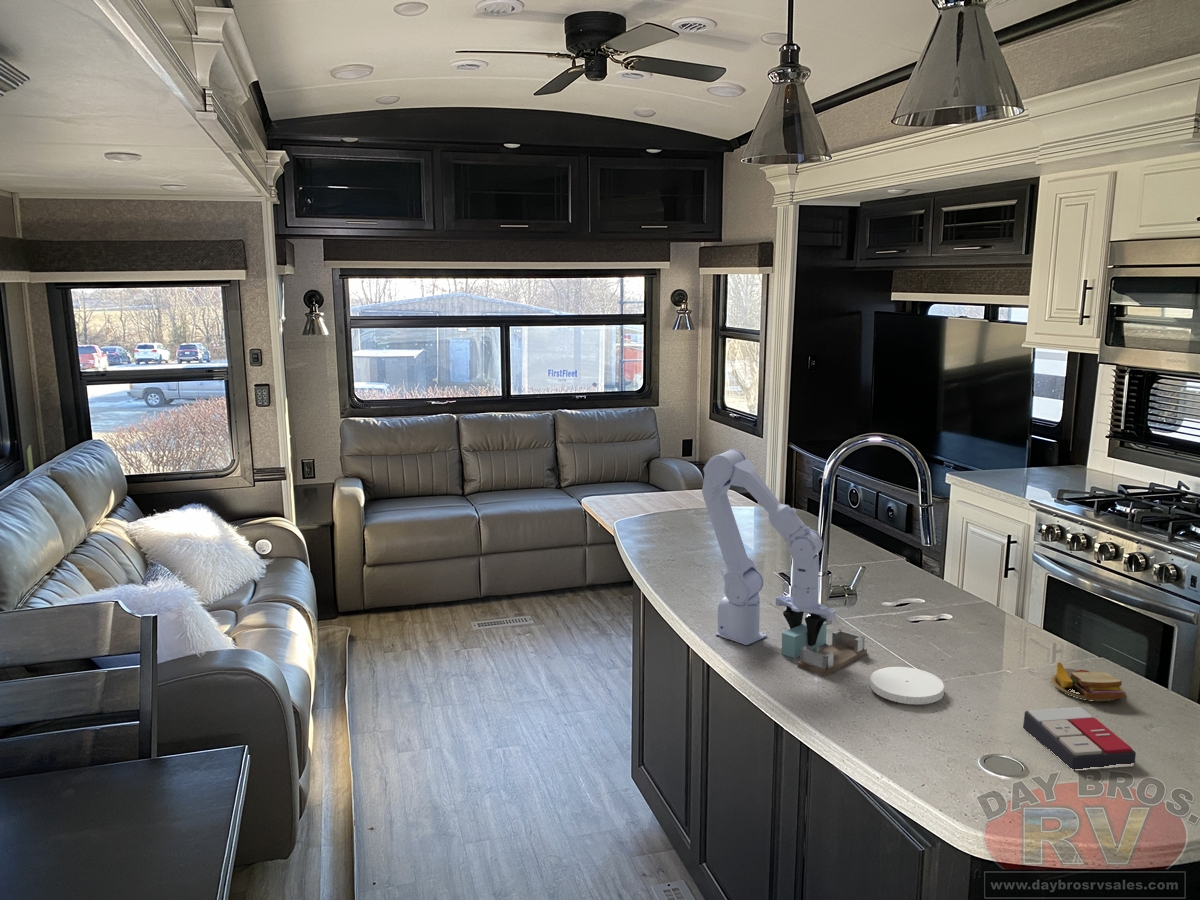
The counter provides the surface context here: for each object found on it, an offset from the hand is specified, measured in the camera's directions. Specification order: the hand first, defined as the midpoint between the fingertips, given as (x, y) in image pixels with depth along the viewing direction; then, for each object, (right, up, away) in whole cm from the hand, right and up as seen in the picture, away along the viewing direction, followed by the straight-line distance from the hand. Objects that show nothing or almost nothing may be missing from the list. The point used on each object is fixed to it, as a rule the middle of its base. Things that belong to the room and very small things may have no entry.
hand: (804, 642), depth 199 cm
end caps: (+5, -2, -6) cm, 8 cm away
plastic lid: (+15, -6, -22) cm, 27 cm away
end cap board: (+5, -2, -6) cm, 8 cm away
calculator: (+38, -9, -44) cm, 59 cm away
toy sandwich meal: (+52, -5, -23) cm, 57 cm away
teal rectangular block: (0, -1, 0) cm, 1 cm away
